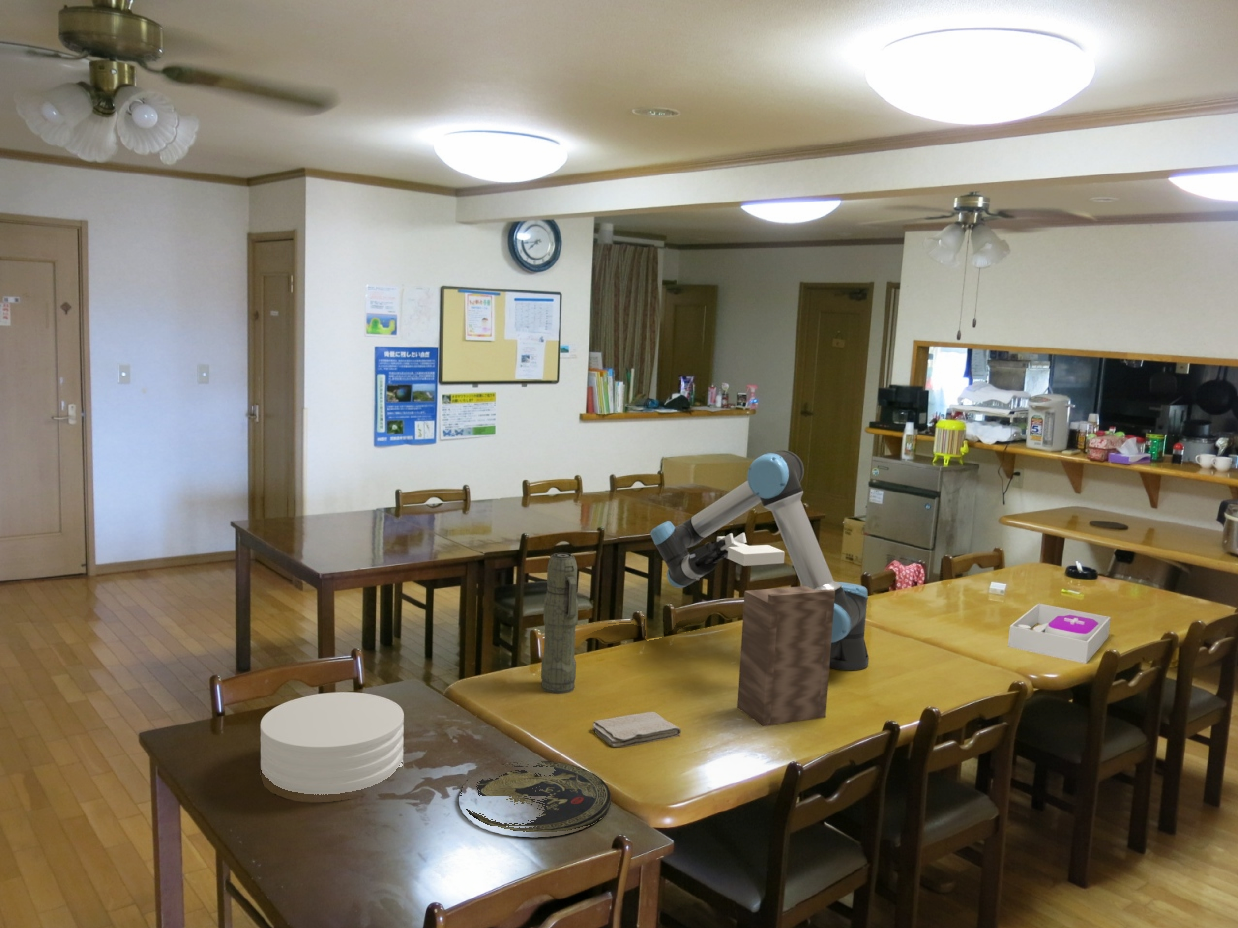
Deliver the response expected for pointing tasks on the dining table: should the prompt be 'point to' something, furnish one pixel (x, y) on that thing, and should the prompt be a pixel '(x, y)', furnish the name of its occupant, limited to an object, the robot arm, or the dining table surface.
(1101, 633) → the white open tray
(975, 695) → the dining table surface
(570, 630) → the thermos
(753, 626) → the walnut stand
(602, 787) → the decorative plate
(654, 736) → the washcloth
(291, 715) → the plate stack
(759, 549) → the beige stepped block
